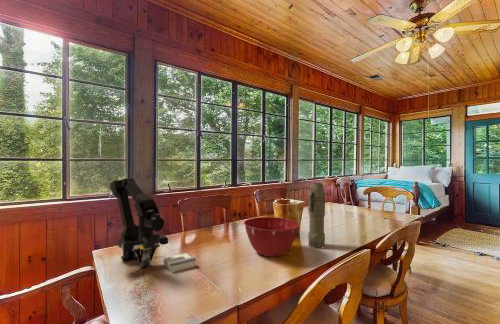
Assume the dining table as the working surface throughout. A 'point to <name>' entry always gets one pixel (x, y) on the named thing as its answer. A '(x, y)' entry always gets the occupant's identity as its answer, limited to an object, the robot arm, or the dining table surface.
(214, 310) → the dining table surface
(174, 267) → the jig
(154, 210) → the robot arm
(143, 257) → the metal cylinder rod
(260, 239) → the mixing bowl
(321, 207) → the thermos
